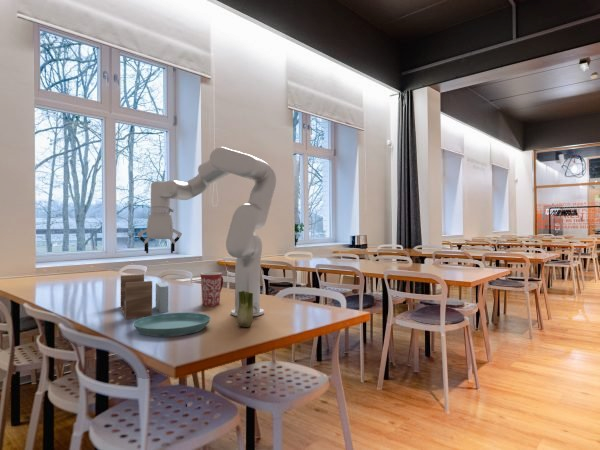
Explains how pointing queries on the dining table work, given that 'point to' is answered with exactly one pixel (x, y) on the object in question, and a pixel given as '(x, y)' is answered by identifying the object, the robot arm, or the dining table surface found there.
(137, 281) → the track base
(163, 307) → the door panel
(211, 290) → the mug
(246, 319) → the fennel bulb
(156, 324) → the teal plate
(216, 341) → the dining table surface
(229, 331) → the dining table surface
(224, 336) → the dining table surface
